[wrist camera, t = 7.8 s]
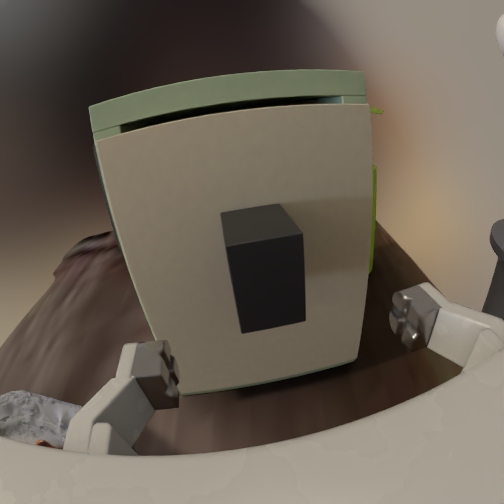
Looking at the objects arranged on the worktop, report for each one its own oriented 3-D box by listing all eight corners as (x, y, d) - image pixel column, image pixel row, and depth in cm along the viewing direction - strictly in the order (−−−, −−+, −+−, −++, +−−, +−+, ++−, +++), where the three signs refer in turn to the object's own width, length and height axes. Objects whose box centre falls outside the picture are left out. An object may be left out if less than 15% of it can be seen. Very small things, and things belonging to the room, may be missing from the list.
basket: (377, 396, 17) (417, 105, 9) (181, 438, 16) (58, 152, 8) (308, 275, 33) (297, 107, 25) (186, 297, 32) (147, 129, 24)
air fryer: (354, 361, 23) (363, 61, 13) (181, 396, 22) (86, 96, 12) (308, 279, 36) (294, 83, 25) (185, 301, 34) (141, 105, 24)
